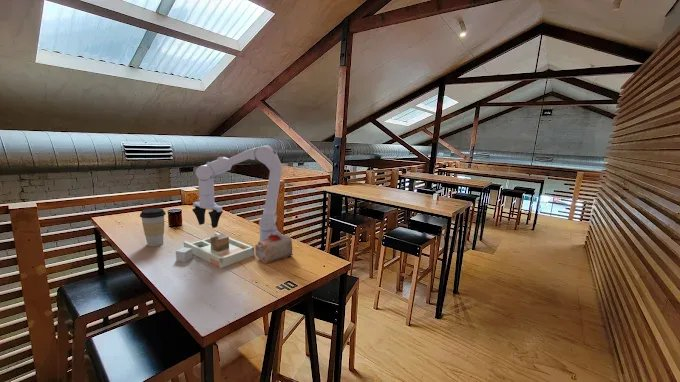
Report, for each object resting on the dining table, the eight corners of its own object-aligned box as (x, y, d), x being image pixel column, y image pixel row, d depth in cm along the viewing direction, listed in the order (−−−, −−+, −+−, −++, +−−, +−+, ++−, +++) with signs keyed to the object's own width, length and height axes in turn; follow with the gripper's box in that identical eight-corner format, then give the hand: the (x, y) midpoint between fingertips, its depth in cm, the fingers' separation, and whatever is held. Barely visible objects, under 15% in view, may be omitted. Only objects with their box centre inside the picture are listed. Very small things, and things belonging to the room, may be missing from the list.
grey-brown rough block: (263, 266, 112) (263, 241, 110) (253, 259, 117) (253, 235, 116) (294, 257, 121) (294, 234, 119) (283, 250, 127) (283, 229, 125)
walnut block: (229, 248, 122) (228, 236, 121) (218, 251, 118) (217, 240, 117) (221, 245, 124) (221, 233, 123) (210, 248, 120) (210, 237, 119)
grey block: (192, 258, 116) (192, 248, 115) (185, 262, 112) (184, 252, 111) (184, 256, 117) (183, 247, 116) (176, 260, 113) (175, 250, 112)
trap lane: (254, 255, 121) (254, 247, 120) (221, 267, 109) (220, 259, 108) (216, 239, 135) (216, 232, 135) (184, 249, 123) (183, 241, 122)
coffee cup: (147, 249, 121) (144, 214, 118) (138, 243, 127) (135, 210, 124) (172, 243, 129) (169, 210, 126) (162, 238, 134) (159, 206, 131)
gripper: (227, 194, 122) (228, 226, 125) (202, 190, 128) (203, 220, 131) (213, 197, 116) (215, 230, 118) (187, 193, 122) (189, 224, 124)
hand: (208, 225), depth 124 cm, fingers open, 7 cm apart
